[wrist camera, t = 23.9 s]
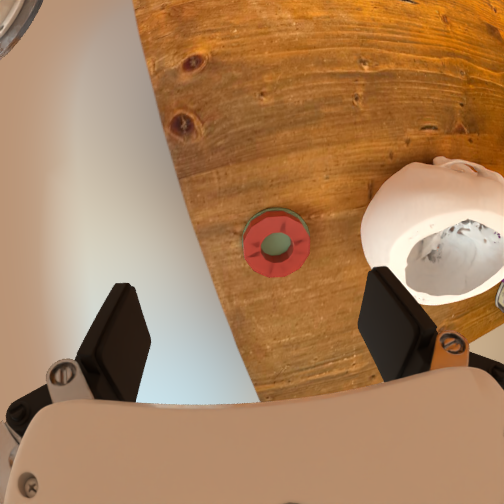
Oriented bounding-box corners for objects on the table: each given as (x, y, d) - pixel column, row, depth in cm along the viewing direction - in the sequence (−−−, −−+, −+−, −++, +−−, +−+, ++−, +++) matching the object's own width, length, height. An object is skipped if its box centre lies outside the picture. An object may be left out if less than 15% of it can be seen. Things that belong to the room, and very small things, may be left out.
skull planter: (490, 221, 32) (531, 306, 17) (376, 236, 42) (367, 325, 28) (483, 133, 26) (549, 180, 12) (356, 153, 36) (340, 209, 22)
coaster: (243, 271, 35) (244, 273, 35) (240, 209, 32) (240, 210, 31) (307, 267, 36) (308, 269, 35) (309, 205, 32) (311, 207, 31)
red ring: (245, 271, 35) (245, 279, 33) (241, 212, 31) (241, 218, 30) (305, 267, 35) (308, 274, 33) (307, 209, 32) (311, 214, 30)
